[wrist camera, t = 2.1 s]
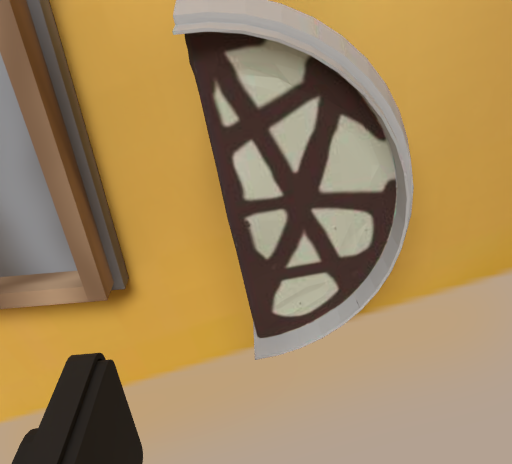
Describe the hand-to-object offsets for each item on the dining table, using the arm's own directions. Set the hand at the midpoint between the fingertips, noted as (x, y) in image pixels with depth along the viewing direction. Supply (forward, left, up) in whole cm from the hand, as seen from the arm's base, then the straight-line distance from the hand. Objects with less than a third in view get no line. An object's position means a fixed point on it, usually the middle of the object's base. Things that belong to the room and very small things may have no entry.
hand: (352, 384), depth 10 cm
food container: (0, -1, -16) cm, 16 cm away
